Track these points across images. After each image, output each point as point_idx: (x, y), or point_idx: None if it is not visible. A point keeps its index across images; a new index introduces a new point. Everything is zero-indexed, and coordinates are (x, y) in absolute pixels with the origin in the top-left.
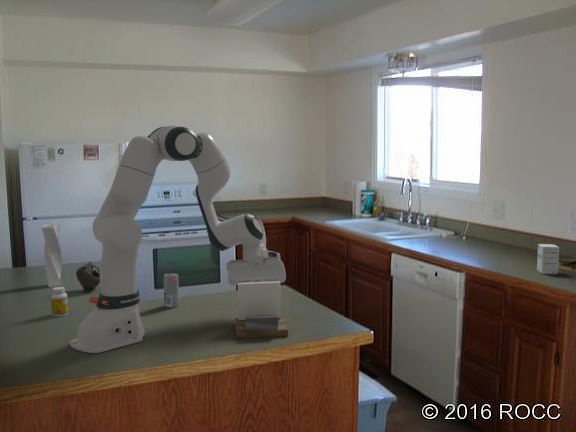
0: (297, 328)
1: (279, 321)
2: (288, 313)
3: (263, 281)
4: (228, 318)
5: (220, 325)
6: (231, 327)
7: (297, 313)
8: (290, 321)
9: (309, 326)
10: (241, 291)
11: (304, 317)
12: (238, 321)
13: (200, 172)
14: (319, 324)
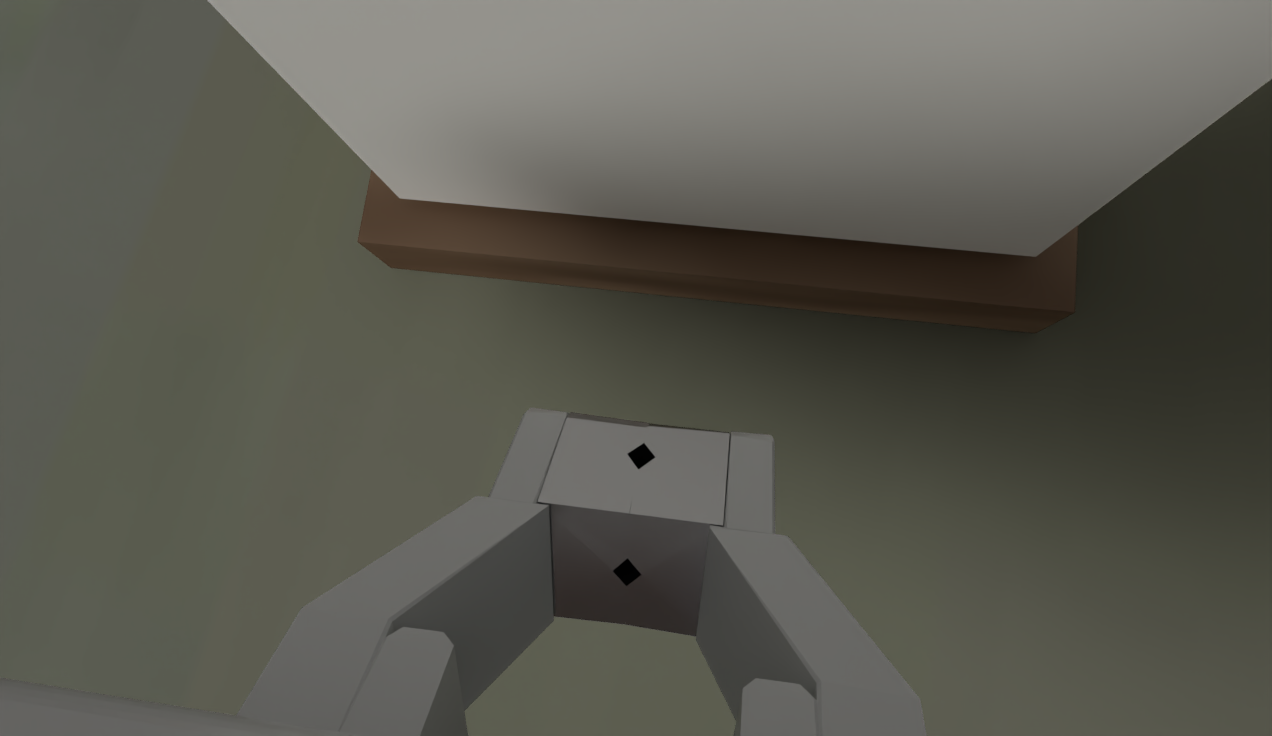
0: None
1: None
2: (201, 630)
3: (326, 670)
4: (1122, 650)
5: (1254, 345)
6: (1096, 224)
7: (87, 592)
8: (293, 274)
9: (152, 45)
10: None
11: (72, 387)
12: None
13: None
14: (22, 86)
